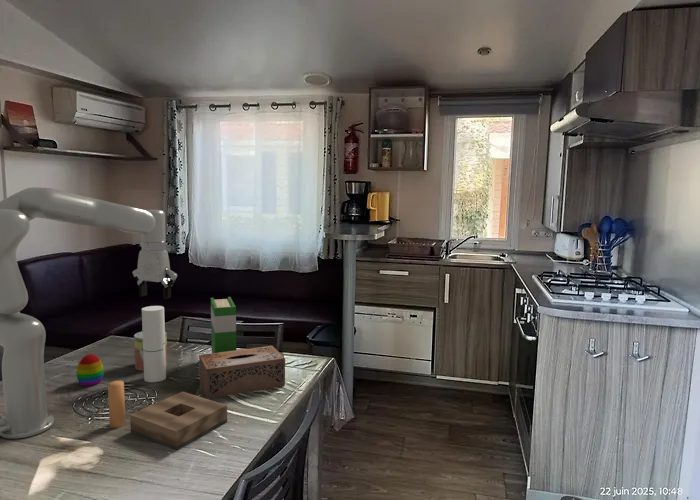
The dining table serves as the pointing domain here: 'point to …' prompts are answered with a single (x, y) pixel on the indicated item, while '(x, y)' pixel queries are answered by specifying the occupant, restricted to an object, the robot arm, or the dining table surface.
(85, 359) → the decorative egg
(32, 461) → the dining table surface
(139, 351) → the canned food
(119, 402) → the pin
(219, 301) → the hardback book
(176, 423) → the block
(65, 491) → the dining table surface
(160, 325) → the cylindrical container
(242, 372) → the tissue box cover
